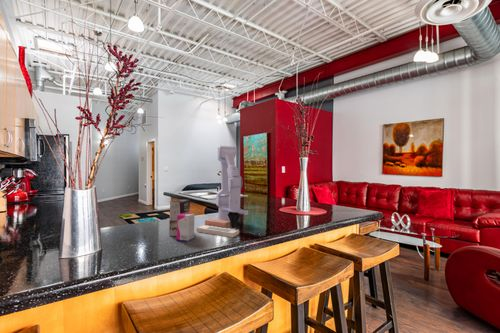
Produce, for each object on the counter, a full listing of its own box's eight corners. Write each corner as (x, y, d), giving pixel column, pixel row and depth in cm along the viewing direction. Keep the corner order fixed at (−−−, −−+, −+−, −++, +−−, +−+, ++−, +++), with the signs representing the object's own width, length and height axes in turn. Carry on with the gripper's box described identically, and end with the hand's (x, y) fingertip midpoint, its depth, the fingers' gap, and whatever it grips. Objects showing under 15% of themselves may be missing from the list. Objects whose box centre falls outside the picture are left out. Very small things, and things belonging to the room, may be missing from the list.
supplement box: (194, 238, 119) (195, 213, 119) (188, 242, 113) (188, 215, 113) (182, 237, 120) (183, 212, 120) (176, 240, 115) (176, 214, 115)
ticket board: (204, 228, 136) (204, 224, 136) (239, 233, 129) (239, 229, 129) (196, 231, 130) (196, 227, 130) (232, 237, 122) (232, 232, 122)
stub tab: (209, 225, 141) (210, 218, 141) (229, 228, 137) (229, 221, 137) (204, 227, 137) (205, 220, 137) (225, 231, 132) (225, 223, 132)
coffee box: (181, 237, 120) (182, 202, 120) (168, 235, 122) (169, 201, 121) (189, 231, 129) (190, 199, 129) (177, 230, 131) (178, 198, 130)
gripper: (218, 200, 132) (217, 227, 132) (244, 203, 126) (243, 231, 126) (224, 198, 138) (224, 224, 139) (250, 201, 133) (249, 227, 133)
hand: (233, 227), depth 133 cm, fingers closed
